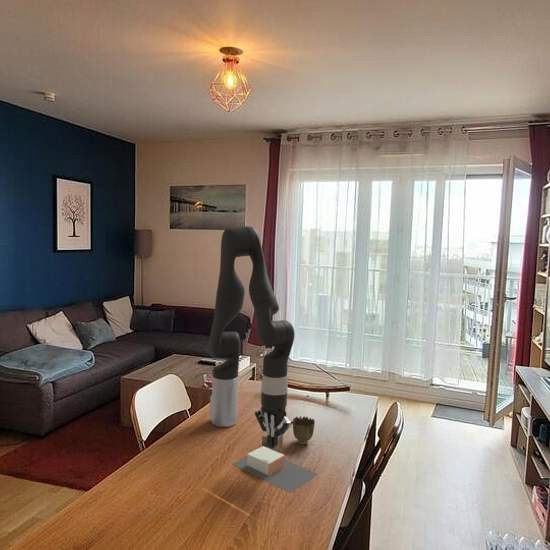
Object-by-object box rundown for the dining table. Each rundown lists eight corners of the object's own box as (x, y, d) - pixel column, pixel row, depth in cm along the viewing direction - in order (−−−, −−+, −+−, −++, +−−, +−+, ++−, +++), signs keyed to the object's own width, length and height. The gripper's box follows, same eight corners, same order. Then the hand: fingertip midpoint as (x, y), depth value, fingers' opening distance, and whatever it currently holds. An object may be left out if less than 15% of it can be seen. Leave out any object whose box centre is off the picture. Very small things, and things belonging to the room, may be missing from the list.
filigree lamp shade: (312, 450, 146) (313, 426, 146) (289, 447, 148) (290, 423, 147) (315, 440, 154) (316, 417, 153) (293, 437, 155) (294, 414, 154)
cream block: (269, 475, 129) (247, 465, 135) (284, 466, 135) (262, 456, 140) (269, 463, 129) (247, 454, 134) (284, 455, 134) (263, 445, 140)
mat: (232, 465, 135) (232, 464, 135) (261, 450, 145) (261, 449, 145) (290, 494, 121) (290, 492, 121) (318, 475, 131) (318, 473, 131)
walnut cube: (261, 450, 145) (262, 435, 145) (268, 444, 150) (268, 429, 149) (275, 454, 143) (276, 439, 142) (282, 448, 147) (282, 433, 147)
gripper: (248, 387, 132) (246, 444, 134) (284, 398, 124) (281, 459, 126) (265, 381, 138) (263, 436, 140) (300, 391, 130) (298, 450, 132)
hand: (272, 447), depth 133 cm, fingers closed
